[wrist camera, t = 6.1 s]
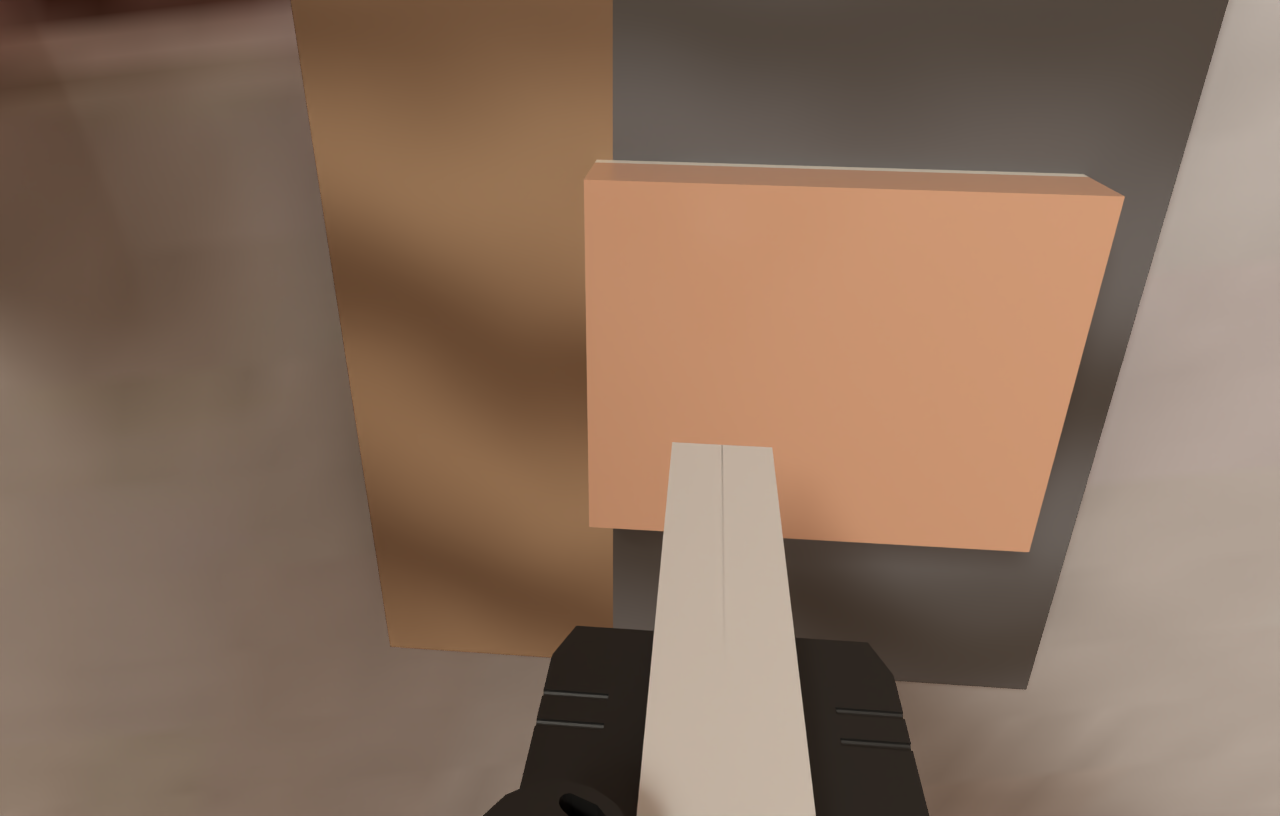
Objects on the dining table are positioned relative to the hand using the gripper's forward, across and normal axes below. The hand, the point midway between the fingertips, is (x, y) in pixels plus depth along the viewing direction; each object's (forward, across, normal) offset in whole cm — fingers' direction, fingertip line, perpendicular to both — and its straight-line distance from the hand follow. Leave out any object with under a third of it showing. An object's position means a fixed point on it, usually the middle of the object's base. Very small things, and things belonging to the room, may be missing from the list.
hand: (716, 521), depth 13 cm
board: (+9, 0, 0) cm, 9 cm away
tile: (+6, -3, 0) cm, 7 cm away
